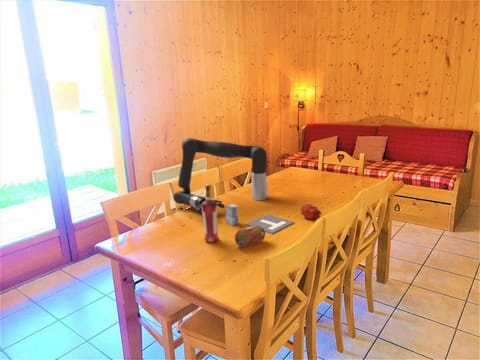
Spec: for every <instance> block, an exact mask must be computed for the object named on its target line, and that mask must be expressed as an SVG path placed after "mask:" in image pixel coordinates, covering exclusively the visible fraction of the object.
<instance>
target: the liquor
mask: <svg viewBox="0 0 480 360" xmlns="http://www.w3.org/2000/svg"><path fill="white" fill-rule="evenodd" d="M204 189H205V198H206V201H204V202H203V203H202V204H201V206H202V212H201V215H202V221H203V228H204V238H203V239H204V240H205V241H206V242H207V243H215V242H216V241H218V239H219V235H218V207H217V206H218V205H217V202H215V201H214V200H215V199H212V192H211V190H212V185H211V184H210V183H207V184H204Z"/></svg>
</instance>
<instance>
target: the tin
mask: <svg viewBox="0 0 480 360" xmlns="http://www.w3.org/2000/svg"><path fill="white" fill-rule="evenodd" d="M265 237H266V232H265V230H264V229H263V228H262V227H260V226H257V225H256V226H251V227H250V226H248V227H245V228H240V229H239V230H238V231H236V233H235V235H234V241H235V243H236V245H237V246H238V247H240V248H247V247H248V248H249V247H251V246H255V245H258V244H260V243H262V242H263V240H264V239H265Z"/></svg>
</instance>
